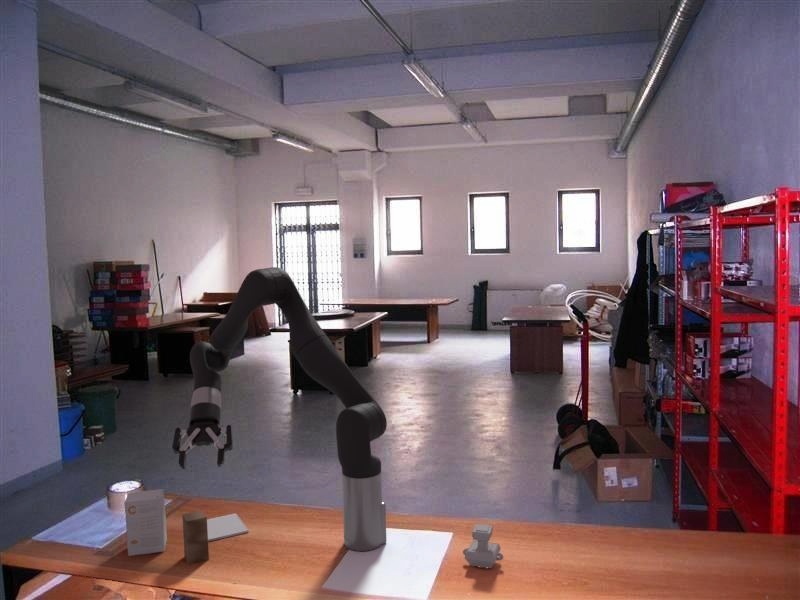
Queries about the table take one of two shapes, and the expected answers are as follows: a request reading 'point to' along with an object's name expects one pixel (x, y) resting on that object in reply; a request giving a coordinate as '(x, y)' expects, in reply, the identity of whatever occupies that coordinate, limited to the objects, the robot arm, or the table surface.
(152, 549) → the small box
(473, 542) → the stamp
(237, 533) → the grey mat
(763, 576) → the table surface
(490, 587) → the table surface
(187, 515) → the walnut block
